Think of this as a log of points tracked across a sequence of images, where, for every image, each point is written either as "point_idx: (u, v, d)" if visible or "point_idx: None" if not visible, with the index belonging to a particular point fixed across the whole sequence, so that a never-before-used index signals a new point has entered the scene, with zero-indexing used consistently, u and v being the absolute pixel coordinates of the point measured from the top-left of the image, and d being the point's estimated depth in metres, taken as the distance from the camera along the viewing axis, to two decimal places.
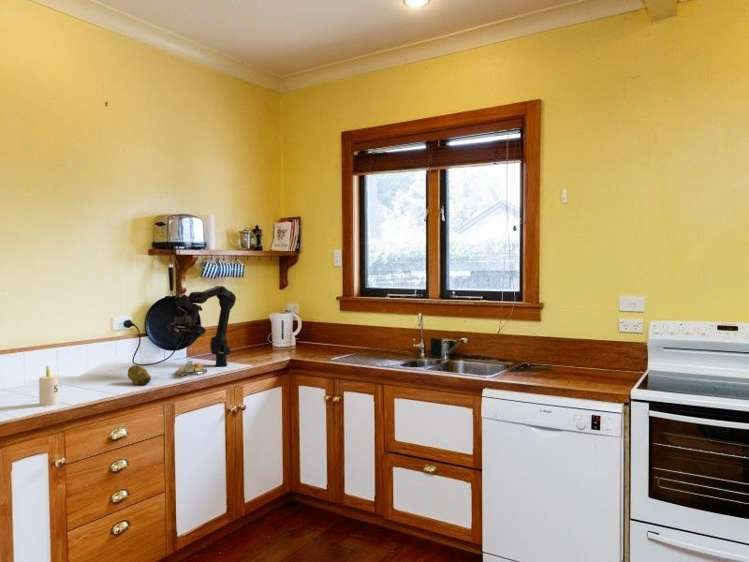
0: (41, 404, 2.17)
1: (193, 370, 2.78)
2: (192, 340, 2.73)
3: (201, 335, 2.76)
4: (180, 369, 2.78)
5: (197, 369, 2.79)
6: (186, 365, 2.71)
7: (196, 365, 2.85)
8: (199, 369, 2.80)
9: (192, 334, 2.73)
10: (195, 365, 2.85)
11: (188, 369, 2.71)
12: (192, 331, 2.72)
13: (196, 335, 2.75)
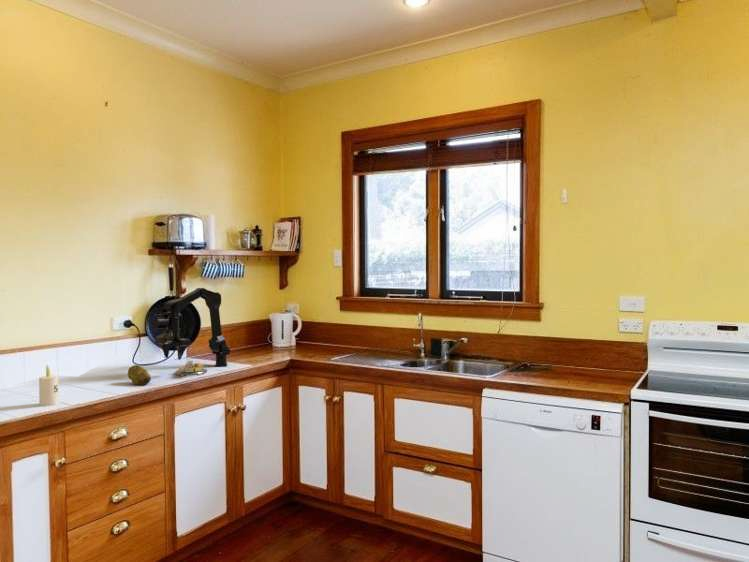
0: (41, 404, 2.17)
1: (193, 370, 2.78)
2: (180, 354, 2.75)
3: None
4: (180, 369, 2.78)
5: (197, 369, 2.79)
6: (186, 365, 2.71)
7: (196, 365, 2.85)
8: (199, 369, 2.80)
9: (178, 349, 2.74)
10: (195, 365, 2.85)
11: (188, 369, 2.71)
12: (177, 347, 2.73)
13: (183, 347, 2.76)
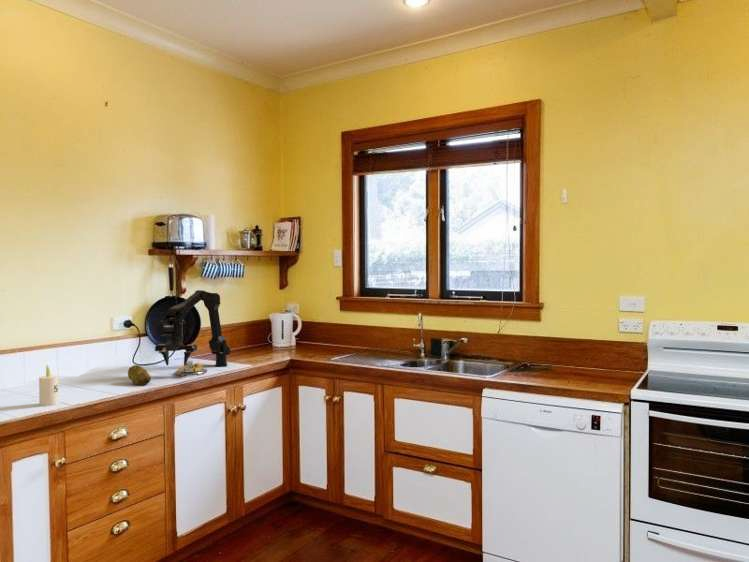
0: (41, 404, 2.17)
1: (193, 370, 2.78)
2: (186, 360, 2.75)
3: None
4: (180, 369, 2.78)
5: (197, 369, 2.79)
6: (186, 365, 2.71)
7: (196, 365, 2.85)
8: (199, 369, 2.80)
9: (186, 355, 2.73)
10: (195, 365, 2.85)
11: (188, 369, 2.71)
12: (186, 353, 2.72)
13: (188, 353, 2.76)
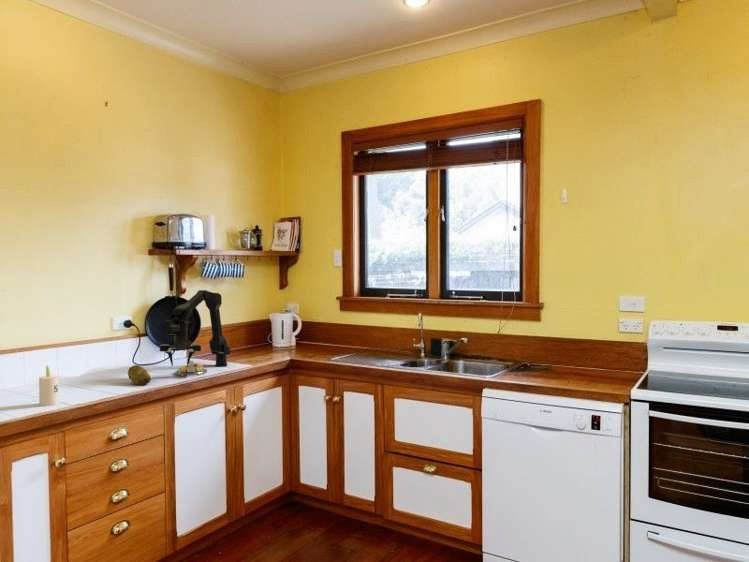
0: (41, 404, 2.17)
1: (195, 370, 2.78)
2: (189, 359, 2.75)
3: None
4: (181, 369, 2.78)
5: (198, 369, 2.79)
6: (190, 365, 2.71)
7: (195, 365, 2.85)
8: (200, 369, 2.81)
9: (190, 355, 2.74)
10: (194, 365, 2.85)
11: (192, 369, 2.71)
12: (191, 353, 2.73)
13: None
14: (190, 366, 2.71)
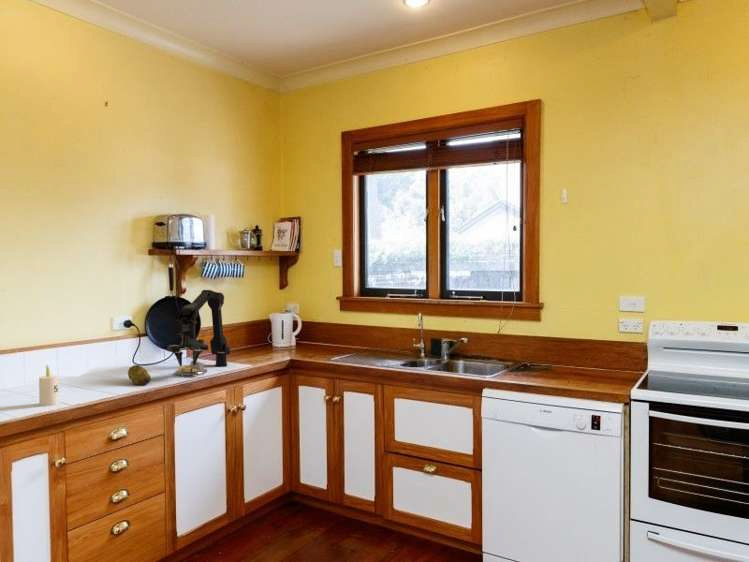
0: (41, 404, 2.17)
1: (199, 369, 2.80)
2: None
3: None
4: (185, 370, 2.77)
5: None
6: (200, 364, 2.73)
7: None
8: None
9: (198, 354, 2.75)
10: None
11: (202, 368, 2.74)
12: (199, 352, 2.75)
13: None
14: (200, 365, 2.73)
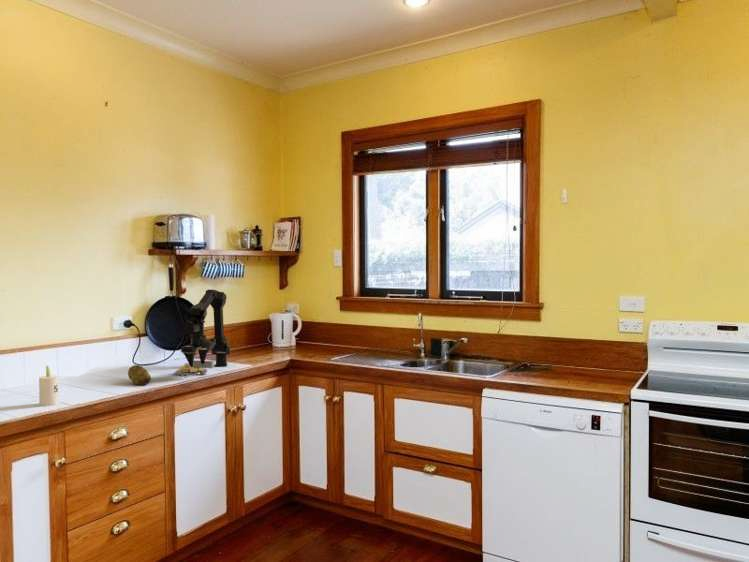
0: (41, 404, 2.17)
1: None
2: None
3: None
4: (191, 370, 2.77)
5: None
6: (212, 362, 2.79)
7: (189, 365, 2.85)
8: None
9: (206, 353, 2.79)
10: (188, 365, 2.85)
11: (213, 366, 2.80)
12: (209, 350, 2.79)
13: None
14: (212, 363, 2.79)
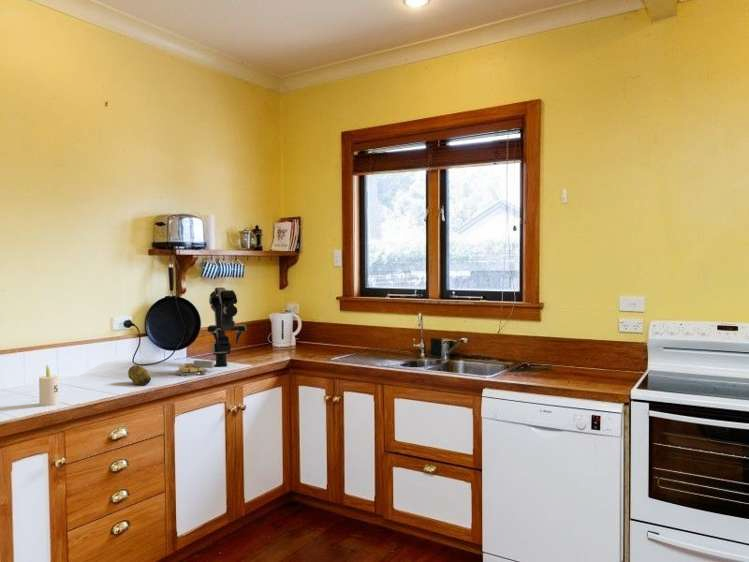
0: (41, 404, 2.17)
1: None
2: (238, 339, 2.91)
3: None
4: (192, 370, 2.77)
5: None
6: (212, 362, 2.79)
7: (189, 365, 2.85)
8: None
9: (238, 335, 2.89)
10: (188, 365, 2.85)
11: (213, 366, 2.80)
12: (239, 333, 2.88)
13: (239, 333, 2.92)
14: (212, 363, 2.79)
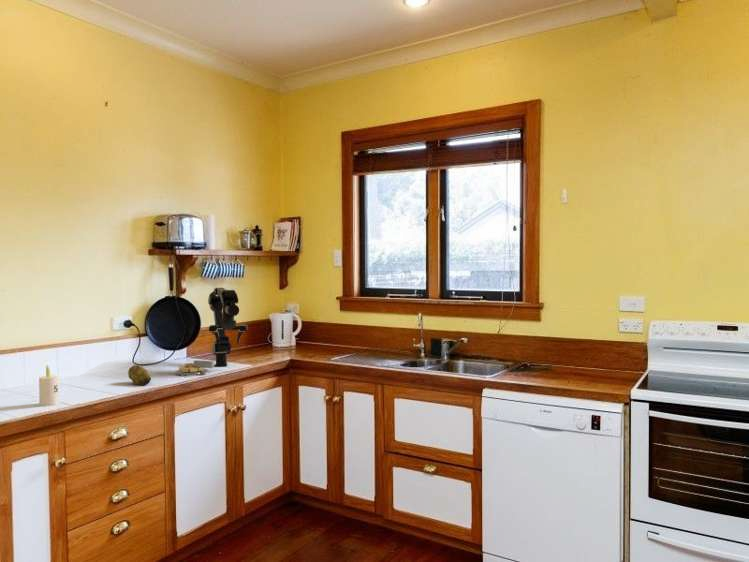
0: (41, 404, 2.17)
1: None
2: (239, 339, 2.91)
3: None
4: (192, 370, 2.77)
5: None
6: (212, 362, 2.79)
7: (189, 365, 2.85)
8: None
9: (239, 335, 2.90)
10: (188, 365, 2.85)
11: (213, 366, 2.80)
12: (240, 332, 2.89)
13: None
14: (212, 363, 2.79)
